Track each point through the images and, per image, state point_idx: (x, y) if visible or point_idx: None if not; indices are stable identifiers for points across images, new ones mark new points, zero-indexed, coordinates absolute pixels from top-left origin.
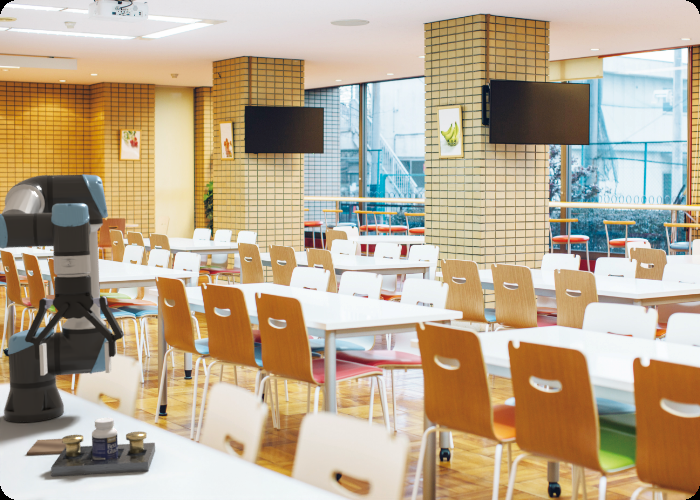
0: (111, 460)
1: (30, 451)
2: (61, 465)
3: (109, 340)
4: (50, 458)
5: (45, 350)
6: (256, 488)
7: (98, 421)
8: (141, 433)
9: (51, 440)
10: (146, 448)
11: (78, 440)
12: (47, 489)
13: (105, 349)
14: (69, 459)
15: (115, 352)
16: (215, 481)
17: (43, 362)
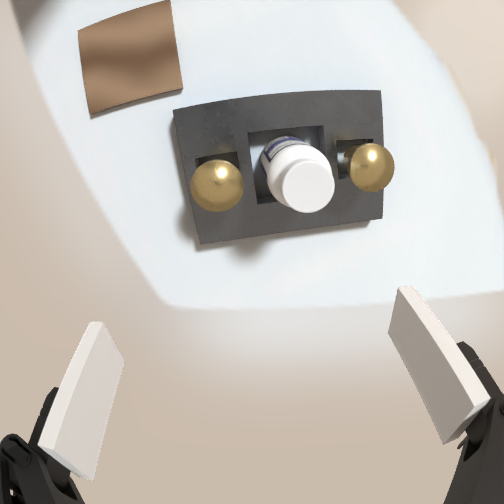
0: None
1: (93, 105)
2: (217, 235)
3: (470, 442)
4: (149, 127)
5: (77, 428)
6: (481, 278)
7: (295, 202)
8: (383, 162)
9: (108, 27)
10: (370, 131)
11: (237, 201)
12: (223, 291)
13: (434, 415)
14: None
15: (472, 356)
16: (454, 257)
17: (110, 407)
